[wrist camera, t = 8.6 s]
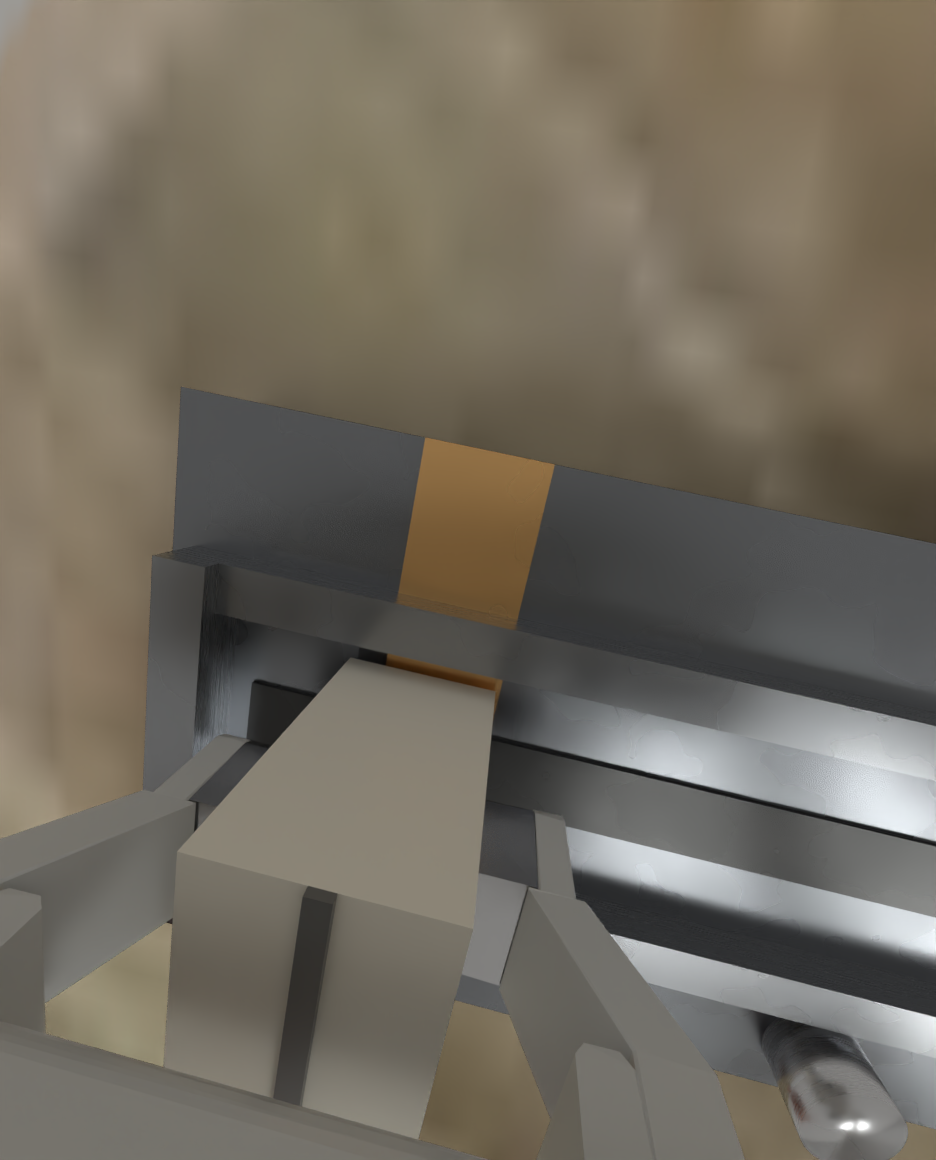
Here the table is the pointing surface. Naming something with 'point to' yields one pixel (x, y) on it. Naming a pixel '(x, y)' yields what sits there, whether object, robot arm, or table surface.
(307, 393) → the table surface
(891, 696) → the console
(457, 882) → the fader cap
